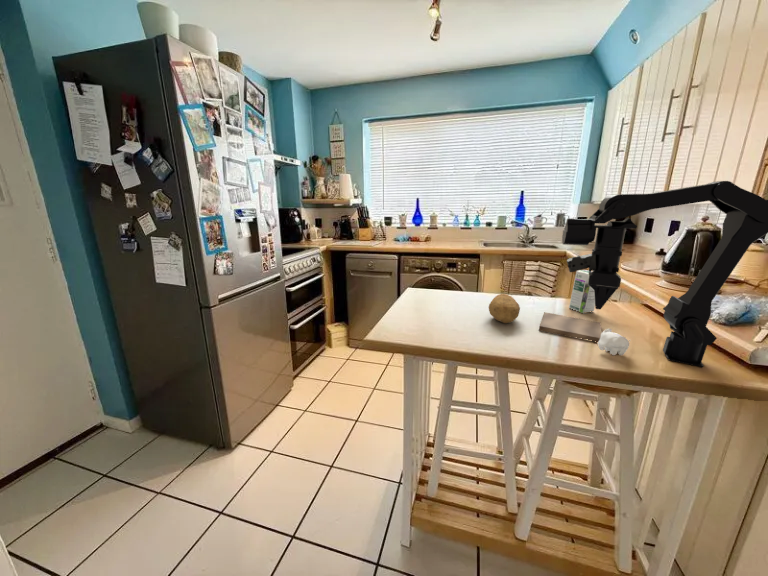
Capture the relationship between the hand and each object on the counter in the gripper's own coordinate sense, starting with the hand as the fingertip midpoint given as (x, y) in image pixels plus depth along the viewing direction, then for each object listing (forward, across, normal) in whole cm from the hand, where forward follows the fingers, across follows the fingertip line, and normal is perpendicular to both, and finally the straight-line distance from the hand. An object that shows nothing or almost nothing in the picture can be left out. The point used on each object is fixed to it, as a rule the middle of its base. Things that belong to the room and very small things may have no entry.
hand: (597, 304), depth 82 cm
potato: (+11, -4, -24) cm, 27 cm away
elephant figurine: (+12, +3, +5) cm, 13 cm away
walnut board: (+12, -9, -6) cm, 16 cm away
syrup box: (+12, -30, -3) cm, 33 cm away
